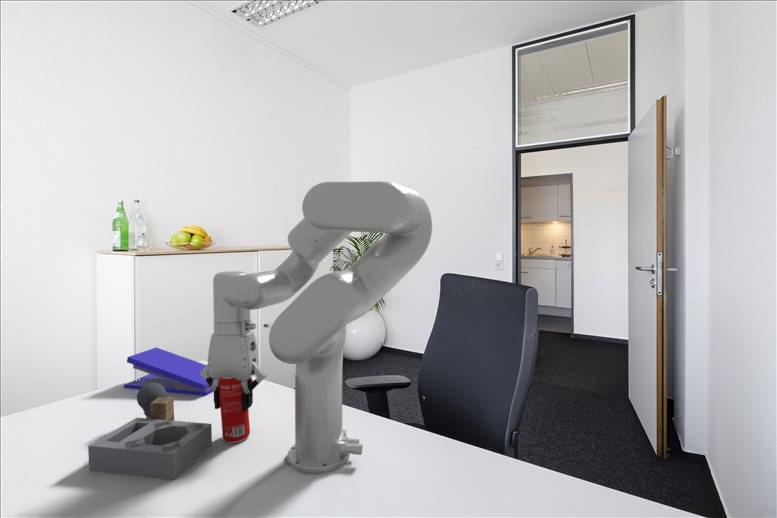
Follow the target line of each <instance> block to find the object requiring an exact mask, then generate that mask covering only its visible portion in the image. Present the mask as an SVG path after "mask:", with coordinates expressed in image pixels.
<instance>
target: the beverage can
mask: <svg viewBox="0 0 777 518" xmlns="http://www.w3.org/2000/svg"><path fill="white" fill-rule="evenodd" d="M218 384H219V396H220V408H219V410H220V419H221V432H222V439H223V442H225V443H228V444H237V443H240V442H243V441H245V440H246V439H248V438H249V436H250V434H251V428H250V426H251V425H250V414H249V413H250V411H249V409H247V410H246V411H242V394H243V393H244V390H243V387H242V385H241V381H239V380H236V378H235V377H220V379H219V381H218Z"/></svg>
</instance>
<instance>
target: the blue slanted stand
mask: <svg viewBox="0 0 777 518" xmlns="http://www.w3.org/2000/svg"><path fill="white" fill-rule="evenodd" d="M126 363H128V364H131V365H132V369H135V370H137V371H141V372H144V373H146V375H143V376H142V377H139V378H136V379H135V380H132V381H129V382H127V383H125V384H124V385H123V388H124V389H129V390H130V389H131V390H140V389H141V388H142V387H143V386H144V385H146V384H148V383H159V384H161V385H162V386H163V387H164V388H165V391H166V393H173V394H174V393H175V394H183V395H184V394H187V395H193V396H203V397H204V396H205V397H207V396H208V395H210V394H212V393H214V391H212V390H211V386H210V385H209V384H208V383H207V382H206V379H204V378H203V377H202V376H201V375H200V372H201V371H202V370H203V369H204V367H205V366H206V365H207V364H204V363H202V362H199V361H196V360H193V359H190V358H187V357H185V356H183V355H182V356H181V355H179V354H176V353H173V352H171V351H167V350H165V349H162V348H159V347H154V348H151V349H148V350H144V351H142V352H138V353H135V354H133V355H130V356H127V358H126ZM139 379H140V380H139ZM136 380H137V381H136Z"/></svg>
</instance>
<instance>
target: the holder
mask: <svg viewBox="0 0 777 518" xmlns="http://www.w3.org/2000/svg"><path fill="white" fill-rule="evenodd" d="M212 428H213V427H212V423H206V422H197V421H196V422H193V421H182V420H174V421H172V420H160V419H148V418H146V417H145V418H144V417H135V418H133V419H132V420H130V421H128V422H126V423H124V424H123V425H122V426H119V427H118V428H116V429H115V430H112V431H111V432H109V433H107V434H105V435H104V436H102V437H101V438H99V439H97V440H95V441H94V442H92V443H90V444H89V445H88V446H87V448H88V449H87V450H88V470H89V472H95V473H96V472H97V473H105V474H107V473H108V474H114V475H115V474H116V475H123V476H132V477H133V476H135V477H144V478H151V479H152V478H153V479H161V480H171V481H172V480H173V481H174V480H176V479H177V478H178V477H179V476H180V475H181V474H182V473H183V472H184V471H186V470H187V469H189V467H190V466H192V465H193V464H194V463H195V462H197V460H199V458H201V457H202V456H203V455H204V454H205V453H206V452H207V451H208V450H210V449H211V448H212V447H213V441H212V440H213V439H212V438H213V435H212Z"/></svg>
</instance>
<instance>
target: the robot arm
mask: <svg viewBox="0 0 777 518" xmlns="http://www.w3.org/2000/svg"><path fill="white" fill-rule="evenodd" d="M301 206H302V207H301V209H302V210H301V211H302V215H303V217H304V218H302V220H300V221H299V222H298V223H297V224H296V225H295V227H293V228H292V229H291V230H290V231H289V233H288V234H287V242H288V245H289V248H290V249H291V253H290V254H289V256H288V257H286V259H285V260H284V261H283V262H282V263H280V265H279V266H277V267H276V268H275V269H273V270H266V271H258V272H252V273H248V272H244V271H239V270H237V271H236V270H233V271H232V270H231V271H221V272H217V273H216V274H214V276H213V280H212V282H213V283H212V284H213V285H212V290H213V293H212V294H213V297H212V298H213V299H212V300H213V333H212V334H211V336H210V340H209V344H208V346H209V347H208V354H207V355H208V356H207V364H205V365H206V366H205V367H204V369H203V370H202V371H201V372H200V375H201V376H202V377H203V378H204V379H206V382H207V383H208V384H209V385H210V386H211V390H212V391H213V403H214V410H220V396H219V384H218V381H219V379H220V377H235V378H236V380H239V381H241V385H242V387H243V390H244V393H243V394H242V411H246V410H247V409H248V410H249V409H250V408H251V407H252V405H253V402H254V401H253V400H254V398H253V397H254V394H253V391H254V389H256V388H257V386H258V385H259V384H260V383H262V381H263V380H265V379H266V378H267V374H266V373H265V371H263V369H262V368H261V367H260V365H259V364H260V362H259V349H258V344H257V338H256V335H255V332H252V330H256V327H257V326H256V323H253V322H252V318H251V311H253V310H259V309H263V308H267V307H270V306H273V305H279V304H282V303H284V302H285V301H288V300H290V299H291V298H292V297H293V296H295V294H297V293H298V292H300V290H301V289H303V288H304V287H305V286H306V285H307V284H308V282H309V281H311V279H312V278H313V277H314V275H315V274H316V271H317V270H318V268H319V265H320V263H321V262H322V261H323V260H324V259H325V258H326V257H327V256H328V255H329V254H331V252H332V251H333V250H334V249H335V248H336V247H338V245H340V244H342V242H343V241H344V240H345V239H346V238H348V236H349V235H351V234H352V233H358V232H359V233H376V234H377V233H378V234H384V235H382V237H381V238H379V239H378V240H377V241H376V242H374V243H373V244H371V246H370V247H369V248H368V249H366V251H365V252H364V253H363V254H362V255H361V256H360V257H358V259H356V260H355V261H354V262H353V263H352V264H351V265H350V266H348V267H347V268H345V269H342V270H340V271H333V272H329V273H326V274H323V275H322V276H320V277H318V278H317V279H315V280H314V281H312V282H311V283H309V285H308V286H307V287H305V288H304V290H302V292H301V293H299V294H298V296H297V297H296V298H294V300H293V301H292V302H291V303H290V304H289V305H288V306H287V307H286V308H285V309H284V310H283V311H282V312H281V313H280V314H279V315H278V316H277V317H276V318H275V320H274V321H273V323H272V325H271V328H270V330H269V334H268V335H269V336H268V344H269V348H270V351H271V352H272V354H273V356H274V357H275V358H276V359H277V360H279V361H280V362H282V363H285V364H289V365H295V368H294V369H295V370H294V426H295V427H294V430H295V431H294V432H295V433H294V434H295V435H294V437H295V439H294V440H295V441H294V444H293V445H291V447H290V448H289V449H288V452H287V462H288V465H289V466H290V467H291V468H293V469H295V470H297V471H299V472H302V473H308V474H320V473H321V474H322V473H326V472H327V473H328V472H330V471H334V470H336V469H339V468H340V467H341V466H343V465H344V464H345V463H346V462H348V460H349V458H350V456H351V454H352V455H358V456H361V455H363V451H364V450H363V448H364V447H363V444H362V443H360V439H359V438H349V437H348V436H347V429H343V363H344V362H343V359H344V349H345V343H346V336H347V325H348V324H350V323H352V322H354V321H356V320H358V319H360V318H362V317H365V315H366V314H367V313H369V312H370V311H371V310H372V309H373V307H375V305H376V304H378V302H379V301H380V300H381V299H382V298H384V297H385V296H386V295H387V294H388V292H389V293H390V291H391V290H392V289H393V288H394V287H395V286H396V285H397V284H398V283H399V282H400V281H401V280H402V279H403V278H404V277H405V276H406V275H407V274H408V273H410V271H411V270H412V269H413V268H414V267H415V266H416V265H417V264H418V262H419V261H420V260H421V259H422V258H423V256H424V255H425V253H426V251H427V249H428V247H429V245H430V241H431V239H432V233H433V219H432V215H431V210H430V208H429V205H428V203H427V202H426V200H425V199H424V198H423V196H422V195H420V194H419V193H418V192H417V191H415V190H413V189H411V188H408V187H405V186H402V185H400V184H398V183H394V182H390V181H379V180H378V181H377V180H376V181H372V180H371V181H323V182H319V183H317V184H315V185H314V186H312V187H310V189H308V191H306V193H305V196H304V197H303V200H302V204H301ZM252 376H256V378H255V379H253V377H252Z"/></svg>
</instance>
